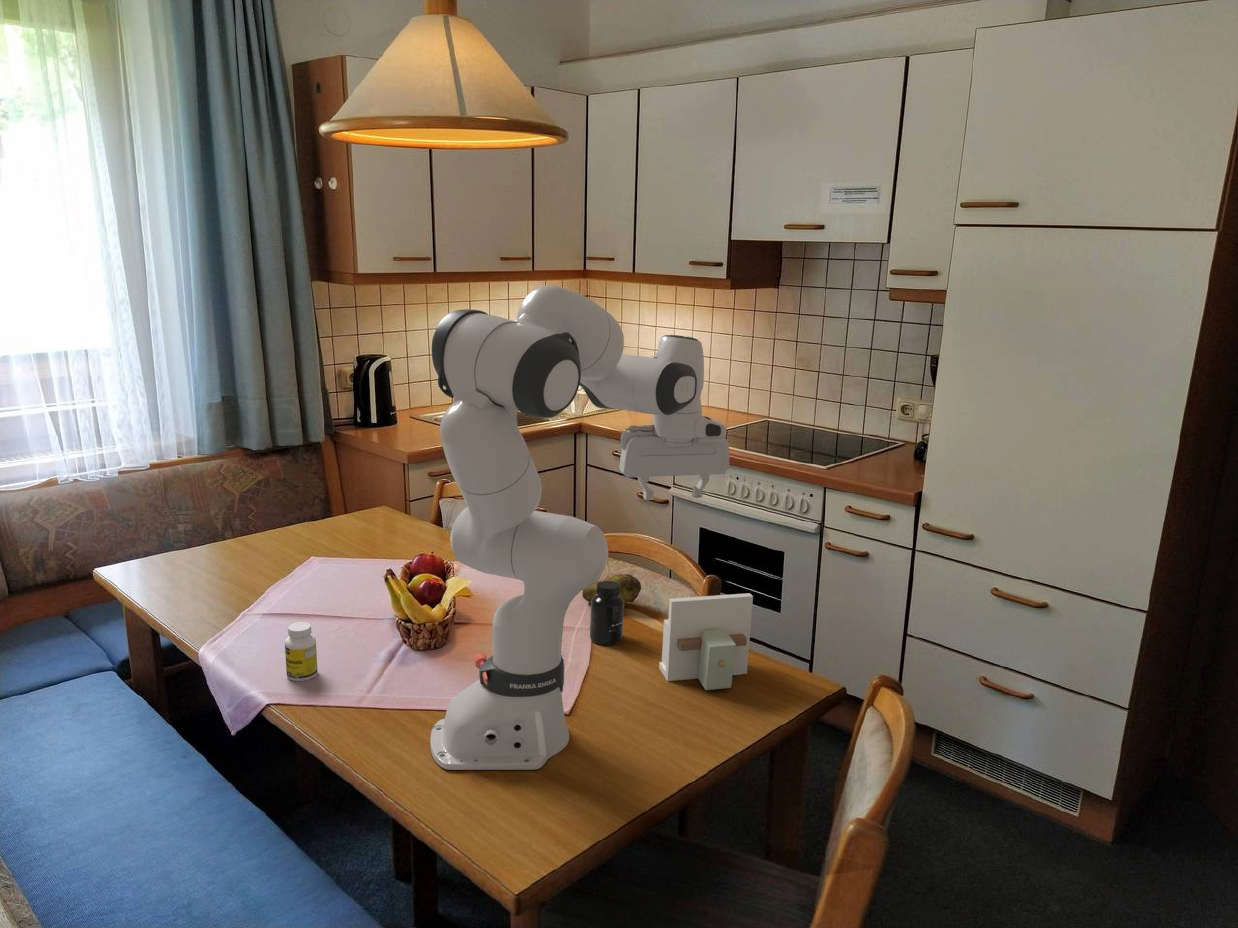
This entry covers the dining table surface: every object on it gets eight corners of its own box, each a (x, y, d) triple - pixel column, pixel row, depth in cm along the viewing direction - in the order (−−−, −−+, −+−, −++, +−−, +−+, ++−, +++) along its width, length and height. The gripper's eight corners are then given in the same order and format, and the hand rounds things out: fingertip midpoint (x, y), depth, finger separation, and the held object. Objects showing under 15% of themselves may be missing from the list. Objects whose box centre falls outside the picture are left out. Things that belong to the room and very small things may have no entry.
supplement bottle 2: (619, 648, 181) (621, 592, 178) (586, 643, 182) (587, 588, 179) (625, 633, 187) (627, 580, 185) (593, 630, 189) (595, 576, 186)
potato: (600, 593, 208) (601, 560, 206) (645, 607, 201) (647, 574, 199) (577, 603, 202) (578, 570, 200) (623, 619, 195) (625, 585, 193)
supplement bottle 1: (280, 677, 164) (277, 627, 162) (303, 665, 169) (300, 617, 166) (301, 684, 162) (298, 635, 159) (324, 673, 166) (321, 624, 164)
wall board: (670, 686, 166) (675, 606, 162) (658, 667, 173) (663, 590, 169) (750, 678, 170) (757, 600, 166) (736, 660, 177) (741, 585, 173)
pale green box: (707, 692, 163) (711, 649, 160) (695, 673, 169) (699, 630, 166) (732, 690, 164) (737, 646, 162) (720, 670, 170) (724, 628, 168)
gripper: (625, 429, 156) (622, 505, 160) (735, 427, 162) (730, 500, 165) (616, 422, 162) (614, 495, 166) (722, 420, 167) (717, 491, 171)
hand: (672, 498), depth 165 cm, fingers open, 8 cm apart
